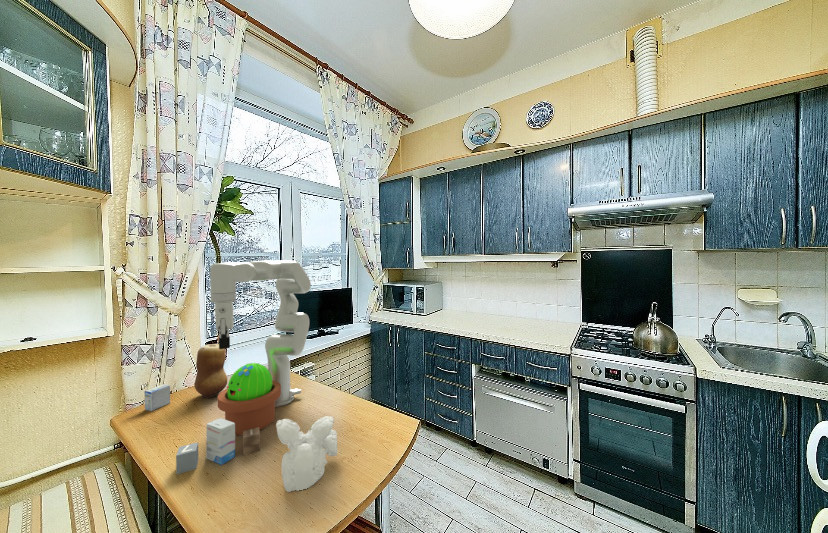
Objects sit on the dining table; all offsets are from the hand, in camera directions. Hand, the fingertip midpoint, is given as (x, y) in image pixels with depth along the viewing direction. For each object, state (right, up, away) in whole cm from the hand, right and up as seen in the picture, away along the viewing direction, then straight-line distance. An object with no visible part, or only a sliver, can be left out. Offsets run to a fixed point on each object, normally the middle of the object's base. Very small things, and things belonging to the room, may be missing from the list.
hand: (224, 348), depth 106 cm
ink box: (+3, -35, -7) cm, 36 cm away
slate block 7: (-5, -35, -11) cm, 37 cm away
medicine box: (-49, -35, +28) cm, 66 cm away
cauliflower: (+35, -36, -12) cm, 51 cm away
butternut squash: (-32, -35, +39) cm, 61 cm away
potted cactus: (+2, -35, +14) cm, 38 cm away
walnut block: (+11, -35, -2) cm, 37 cm away
